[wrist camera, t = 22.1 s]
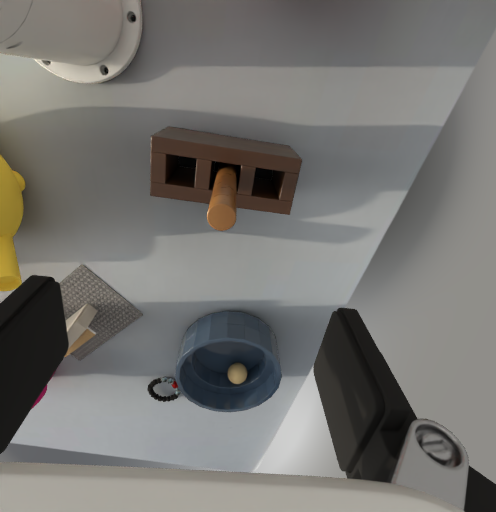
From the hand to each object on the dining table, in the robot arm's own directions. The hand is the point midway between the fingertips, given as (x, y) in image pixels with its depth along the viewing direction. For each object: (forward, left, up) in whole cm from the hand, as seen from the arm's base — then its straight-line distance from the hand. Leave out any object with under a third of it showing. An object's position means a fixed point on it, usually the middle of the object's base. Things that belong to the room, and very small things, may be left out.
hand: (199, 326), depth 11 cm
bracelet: (-6, -40, -29) cm, 50 cm away
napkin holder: (-19, -26, -30) cm, 44 cm away
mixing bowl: (+4, -29, -29) cm, 42 cm away
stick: (0, 0, -29) cm, 29 cm away
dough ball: (+7, -34, -26) cm, 43 cm away
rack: (0, 0, -29) cm, 29 cm away
